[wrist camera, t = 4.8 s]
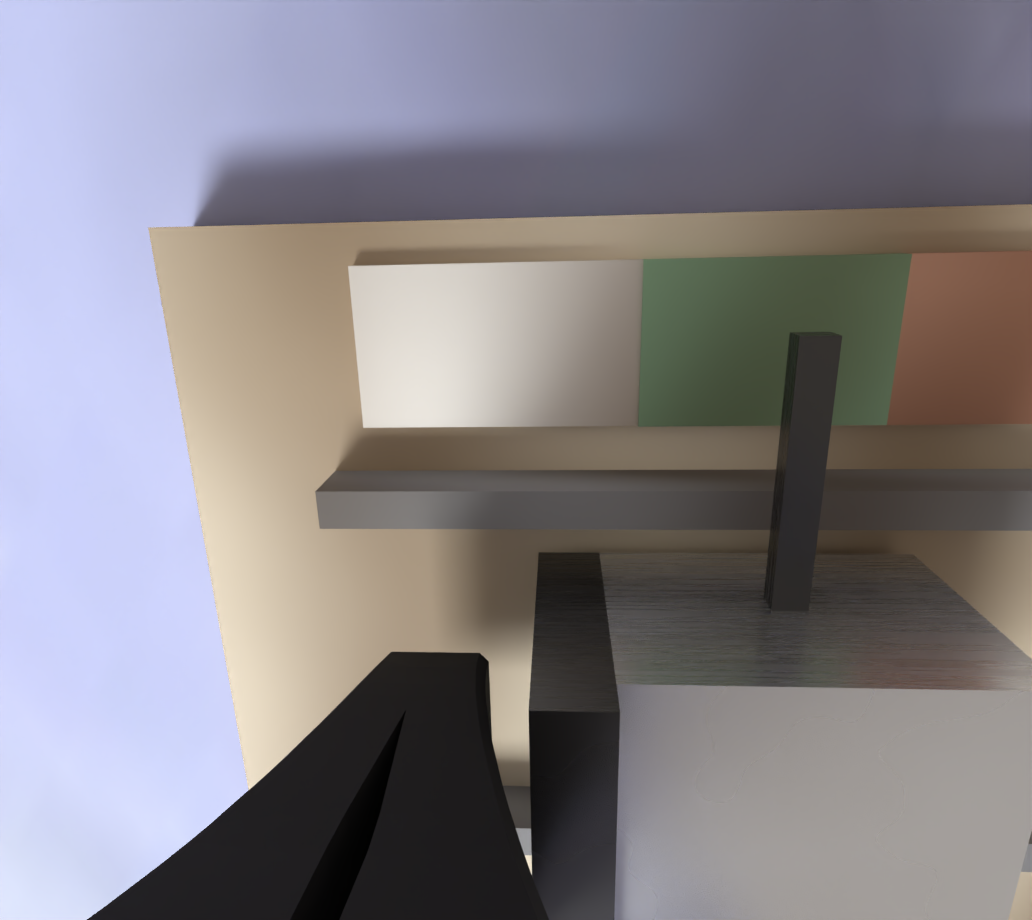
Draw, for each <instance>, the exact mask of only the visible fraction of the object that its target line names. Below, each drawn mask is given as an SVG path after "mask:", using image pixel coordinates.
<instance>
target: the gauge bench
mask: <svg viewBox="0 0 1032 920" xmlns="http://www.w3.org/2000/svg"><path fill="white" fill-rule="evenodd" d="M148 229H149V234H150V240H151V245H152V251H153V257H154V262H155V268H156V273H157V279H158V285H159V290H160V296H161V301H162V307H163V313H164V318H165V324H166V329H167V335H168V341H169V346H170V352H171V357H172V363H173V369H174V374H175V380H176V385H177V391H178V397H179V402H180V408H181V413H182V419H183V425H184V430H185V436H186V441H187V447H188V453H189V458H190V464H191V469H192V475H193V481H194V486H195V492H196V497H197V503H198V509H199V514H200V520H201V525H202V531H203V537H204V542H205V548H206V554H207V559H208V565H209V570H210V576H211V582H212V587H213V593H214V598H215V604H216V610H217V615H218V621H219V626H220V632H221V638H222V643H223V649H224V654H225V660H226V666H227V671H228V677H229V682H230V688H231V694H232V699H233V705H234V710H235V716H236V722H237V727H238V733H239V738H240V744H241V750H242V755H243V761H244V766H245V772H246V778H247V783H248V789H249V790H250V789H251V788H252V787H253V786H254V785H255V784H256V783H257V782H259V781H260V780H261V779H262V778H263V777H264V776H265V775H266V774H267V773H269V772H270V771H271V770H272V769H273V768H274V767H275V766H276V765H277V764H278V763H279V762H280V761H281V760H282V759H283V758H284V757H286V756H287V755H288V754H289V753H290V752H291V751H292V750H293V749H294V748H295V747H296V746H297V745H298V744H299V743H300V742H301V741H302V740H303V739H304V738H305V737H306V736H307V735H308V734H309V733H310V732H311V731H312V730H313V729H314V728H315V727H317V726H318V725H319V724H320V723H321V722H322V721H323V720H324V719H325V718H326V717H327V716H328V715H329V714H330V713H331V712H332V711H333V710H334V709H335V708H336V707H337V706H338V705H339V704H340V703H341V701H342V700H343V699H344V698H345V697H346V696H347V695H348V694H349V693H350V692H351V691H352V690H353V689H354V688H355V687H356V686H357V685H358V684H359V683H360V682H361V681H362V680H363V679H364V678H365V677H366V676H367V675H368V674H369V673H370V672H371V671H372V670H373V669H374V668H375V667H376V666H377V665H378V664H379V663H380V662H381V661H382V660H383V659H384V658H385V657H386V656H387V655H388V654H389V653H390V652H454V653H480V654H481V655H483V656H484V657H485V658H486V659H487V660H488V661H489V679H490V703H491V727H492V743H493V747H494V751H495V755H496V760H497V764H498V768H499V772H500V776H501V781H502V785H503V788H504V792H505V795H506V799H507V802H508V806H509V809H510V812H511V815H512V818H513V821H514V825H515V828H516V831H517V834H518V837H519V840H520V843H521V846H522V849H523V852H524V855H525V858H526V861H527V863H528V866H529V869H530V872H531V875H532V853H531V805H530V757H529V696H530V680H531V664H532V649H533V633H534V618H535V602H536V586H537V571H538V555H539V552H570V553H768V547H769V537H770V526H771V516H772V506H773V496H774V486H775V476H776V466H777V456H778V446H779V436H780V425H781V415H782V405H783V395H784V385H785V375H786V365H787V355H788V345H789V335H790V332H833V333H836V334H839V335H842V343H841V351H840V359H839V367H838V375H837V384H836V392H835V400H834V408H833V416H832V424H831V432H830V441H829V449H828V457H827V465H826V473H825V481H824V490H823V498H822V506H821V514H820V522H819V530H818V538H817V547H816V554H913V555H914V556H916V557H917V558H918V559H919V560H920V561H921V562H922V563H924V564H925V565H926V566H927V567H928V568H929V569H930V570H931V571H933V572H934V573H935V574H936V575H937V576H938V577H939V578H940V579H942V580H943V581H944V582H945V583H946V584H947V585H948V586H950V587H951V588H952V589H953V590H954V591H955V592H956V593H957V594H959V595H960V596H961V597H962V598H963V599H964V600H965V601H967V602H968V603H969V604H970V605H971V606H972V607H973V608H974V609H976V610H977V611H978V612H979V613H980V614H981V615H982V616H983V617H985V618H986V619H987V620H988V621H989V622H990V623H991V624H993V625H994V626H995V627H996V628H997V629H998V630H999V631H1000V632H1002V633H1003V634H1004V635H1005V636H1006V637H1007V638H1008V639H1009V640H1011V641H1012V642H1013V643H1014V644H1015V645H1016V646H1017V647H1019V648H1020V649H1021V650H1022V651H1023V652H1024V653H1025V654H1026V655H1028V656H1029V657H1030V658H1031V659H1032V204H1020V205H983V206H945V207H908V208H870V209H833V210H795V211H757V212H720V213H682V214H645V215H607V216H570V217H532V218H494V219H457V220H419V221H382V222H344V223H307V224H269V225H231V226H194V227H156V228H148ZM1008 920H1032V832H1031V835H1030V839H1029V843H1028V847H1027V850H1026V854H1025V858H1024V862H1023V866H1022V869H1021V873H1020V877H1019V881H1018V884H1017V888H1016V892H1015V896H1014V899H1013V903H1012V907H1011V911H1010V914H1009V918H1008Z"/></svg>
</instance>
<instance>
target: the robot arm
mask: <svg viewBox="0 0 1032 920" xmlns="http://www.w3.org/2000/svg"><path fill="white" fill-rule="evenodd" d="M87 920H549V918H548V916H547V913H546V911H545V908H544V906H543V903H542V901H541V898H540V896H539V893H538V891H537V888H536V885H535V883H534V880H533V877H532V875H531V872H530V869H529V866H528V863H527V861H526V858H525V855H524V852H523V849H522V846H521V843H520V840H519V837H518V834H517V831H516V828H515V825H514V821H513V818H512V815H511V812H510V809H509V806H508V802H507V799H506V795H505V792H504V788H503V785H502V781H501V776H500V772H499V768H498V764H497V760H496V755H495V751H494V747H493V743H492V727H491V703H490V679H489V661H488V660H487V659H486V658H485V657H484V656H483V655H481V654H480V653H454V652H390V653H389V654H388V655H387V656H386V657H385V658H384V659H383V660H382V661H381V662H380V663H379V664H378V665H377V666H376V667H375V668H374V669H373V670H372V671H371V672H370V673H369V674H368V675H367V676H366V677H365V678H364V679H363V680H362V681H361V682H360V683H359V684H358V685H357V686H356V687H355V688H354V689H353V690H352V691H351V692H350V693H349V694H348V695H347V696H346V697H345V698H344V699H343V700H342V701H341V703H340V704H339V705H338V706H337V707H336V708H335V709H334V710H333V711H332V712H331V713H330V714H329V715H328V716H327V717H326V718H325V719H324V720H323V721H322V722H321V723H320V724H319V725H318V726H317V727H315V728H314V729H313V730H312V731H311V732H310V733H309V734H308V735H307V736H306V737H305V738H304V739H303V740H302V741H301V742H300V743H299V744H298V745H297V746H296V747H295V748H294V749H293V750H292V751H291V752H290V753H289V754H288V755H287V756H286V757H284V758H283V759H282V760H281V761H280V762H279V763H278V764H277V765H276V766H275V767H274V768H273V769H272V770H271V771H270V772H269V773H267V774H266V775H265V776H264V777H263V778H262V779H261V780H260V781H259V782H257V783H256V784H255V785H254V786H253V787H252V788H251V789H250V790H248V791H247V792H246V793H245V794H244V795H243V796H242V797H240V798H239V799H238V800H237V801H236V802H235V803H234V804H233V805H231V806H230V807H229V808H228V809H227V810H226V811H225V812H223V813H222V814H221V815H220V816H219V817H218V818H217V819H216V820H214V821H213V822H212V823H211V824H210V825H209V826H208V827H206V828H205V829H204V830H203V831H202V832H200V833H199V834H198V835H197V836H196V837H194V838H193V839H192V840H191V841H189V842H188V843H187V844H186V845H185V846H183V847H182V848H181V849H179V850H178V851H177V852H176V853H174V854H173V855H172V856H171V857H169V858H168V859H167V860H166V861H164V862H163V863H162V864H161V865H159V866H158V867H157V868H155V869H154V870H153V871H151V872H150V873H149V874H148V875H146V876H145V877H144V878H142V879H141V880H140V881H138V882H137V883H136V884H134V885H133V886H132V887H130V888H129V889H128V890H126V891H125V892H124V893H122V894H121V895H120V896H118V897H117V898H116V899H115V900H113V901H112V902H111V903H109V904H108V905H107V906H105V907H104V908H103V909H101V910H100V911H98V912H97V913H96V914H94V915H93V916H92V917H90V918H89V919H87Z"/></svg>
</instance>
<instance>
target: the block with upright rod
mask: <svg viewBox="0 0 1032 920" xmlns="http://www.w3.org/2000/svg"><path fill="white" fill-rule="evenodd" d="M841 343H842V335H839V334H836V333H833V332H790V335H789V345H788V355H787V365H786V375H785V385H784V395H783V405H782V415H781V425H780V436H779V446H778V456H777V466H776V476H775V486H774V496H773V506H772V516H771V526H770V537H769V547H768V553H570V552H539V555H538V571H537V586H536V602H535V618H534V633H533V649H532V664H531V680H530V696H529V757H530V805H531V853H532V877H533V880H534V883H535V885H536V888H537V891H538V893H539V896H540V898H541V901H542V903H543V906H544V908H545V911H546V913H547V916H548V918H549V920H1008V918H1009V914H1010V911H1011V907H1012V903H1013V899H1014V896H1015V892H1016V888H1017V884H1018V881H1019V877H1020V873H1021V869H1022V866H1023V862H1024V858H1025V854H1026V850H1027V847H1028V843H1029V839H1030V835H1031V832H1032V659H1031V658H1030V657H1029V656H1028V655H1026V654H1025V653H1024V652H1023V651H1022V650H1021V649H1020V648H1019V647H1017V646H1016V645H1015V644H1014V643H1013V642H1012V641H1011V640H1009V639H1008V638H1007V637H1006V636H1005V635H1004V634H1003V633H1002V632H1000V631H999V630H998V629H997V628H996V627H995V626H994V625H993V624H991V623H990V622H989V621H988V620H987V619H986V618H985V617H983V616H982V615H981V614H980V613H979V612H978V611H977V610H976V609H974V608H973V607H972V606H971V605H970V604H969V603H968V602H967V601H965V600H964V599H963V598H962V597H961V596H960V595H959V594H957V593H956V592H955V591H954V590H953V589H952V588H951V587H950V586H948V585H947V584H946V583H945V582H944V581H943V580H942V579H940V578H939V577H938V576H937V575H936V574H935V573H934V572H933V571H931V570H930V569H929V568H928V567H927V566H926V565H925V564H924V563H922V562H921V561H920V560H919V559H918V558H917V557H916V556H914V555H913V554H816V547H817V538H818V530H819V522H820V514H821V506H822V498H823V490H824V481H825V473H826V465H827V457H828V449H829V441H830V432H831V424H832V416H833V408H834V400H835V392H836V384H837V375H838V367H839V359H840V351H841Z"/></svg>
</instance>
